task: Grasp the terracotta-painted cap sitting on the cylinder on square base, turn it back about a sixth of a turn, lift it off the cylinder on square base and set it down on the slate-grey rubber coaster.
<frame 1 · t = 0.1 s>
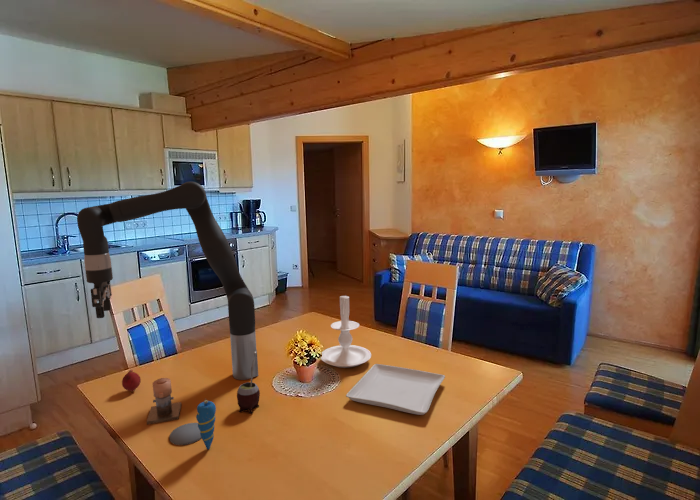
hand: (104, 314, 141), 29 cm above the table, fingers open, 8 cm apart
ornament: (209, 449, 114), on the table
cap: (162, 393, 131), point 7 cm above the table, touching cylinder on square base
candlestick: (346, 360, 170), on the table
mate gourd: (249, 408, 135), on the table
coaster: (188, 434, 121), on the table
cylinder on square base: (164, 414, 132), on the table
square plate: (397, 394, 143), on the table
onion: (132, 391, 147), on the table
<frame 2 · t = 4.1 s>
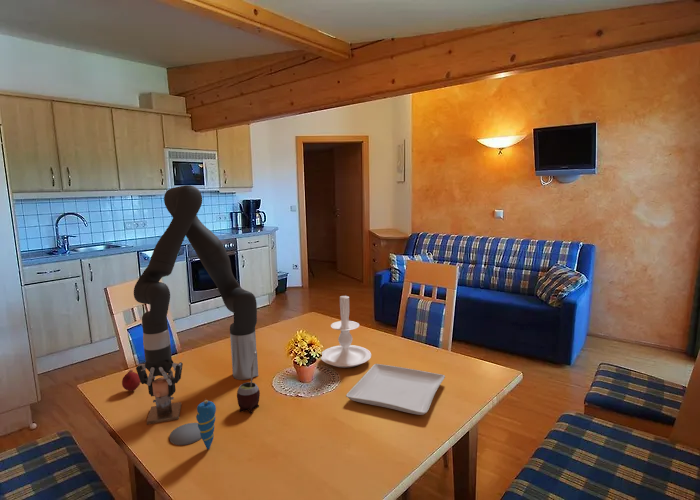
hand: (162, 394, 132), 6 cm above the table, fingers closed on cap, 5 cm apart
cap: (162, 392, 131), point 7 cm above the table, touching gripper
everything else where it was.
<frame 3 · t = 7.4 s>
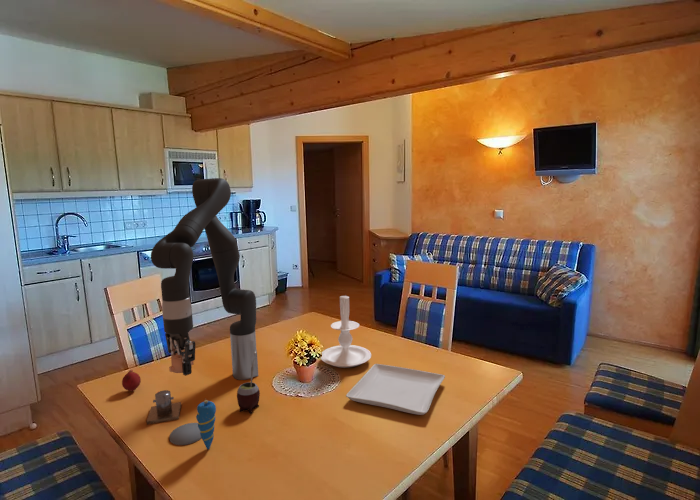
hand: (182, 371, 118), 20 cm above the table, fingers closed on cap, 5 cm apart
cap: (181, 369, 118), point 20 cm above the table, touching gripper
everything else where it was.
when the fingers open (1 cm above the table, at t = 11.1 s): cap drops 1 cm, resting on coaster.
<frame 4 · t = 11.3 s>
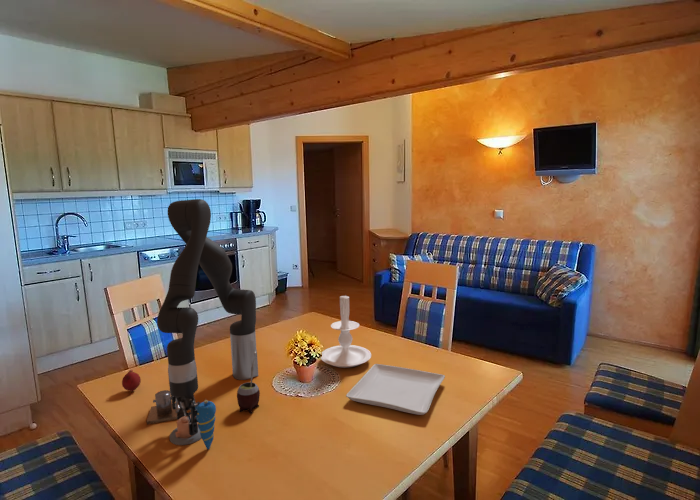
hand: (187, 429, 121), 2 cm above the table, fingers open, 6 cm apart
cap: (187, 432, 121), point 1 cm above the table, touching coaster
everything else where it was.
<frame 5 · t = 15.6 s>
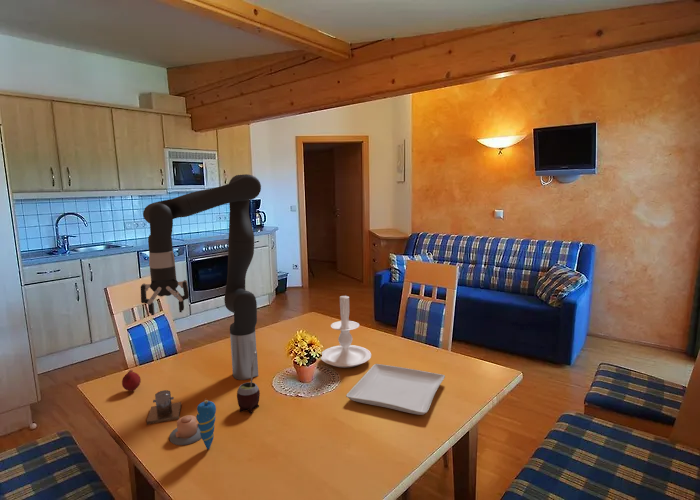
hand: (167, 313, 137), 30 cm above the table, fingers open, 8 cm apart
nothing on the table moved.
at the end: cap inside the target area on the coaster (0.1 cm from its centre), point 0.6 cm above the coaster's base; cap tilted 0°; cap touching coaster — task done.
